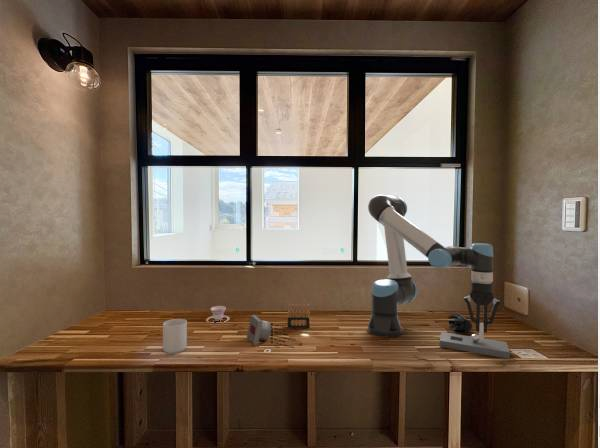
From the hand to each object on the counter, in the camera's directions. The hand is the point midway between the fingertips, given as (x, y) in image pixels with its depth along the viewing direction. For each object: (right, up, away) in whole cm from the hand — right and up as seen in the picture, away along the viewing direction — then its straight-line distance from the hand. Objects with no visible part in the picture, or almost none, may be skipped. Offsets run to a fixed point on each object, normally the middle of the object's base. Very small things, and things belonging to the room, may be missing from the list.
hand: (481, 339), depth 126 cm
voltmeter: (-86, -4, +4) cm, 86 cm away
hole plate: (-3, -4, +1) cm, 5 cm away
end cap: (+2, -4, +21) cm, 22 cm away
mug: (-123, -4, 0) cm, 124 cm away
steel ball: (-2, 0, +1) cm, 2 cm away
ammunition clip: (-74, -3, +24) cm, 78 cm away
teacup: (-116, -3, +36) cm, 121 cm away
